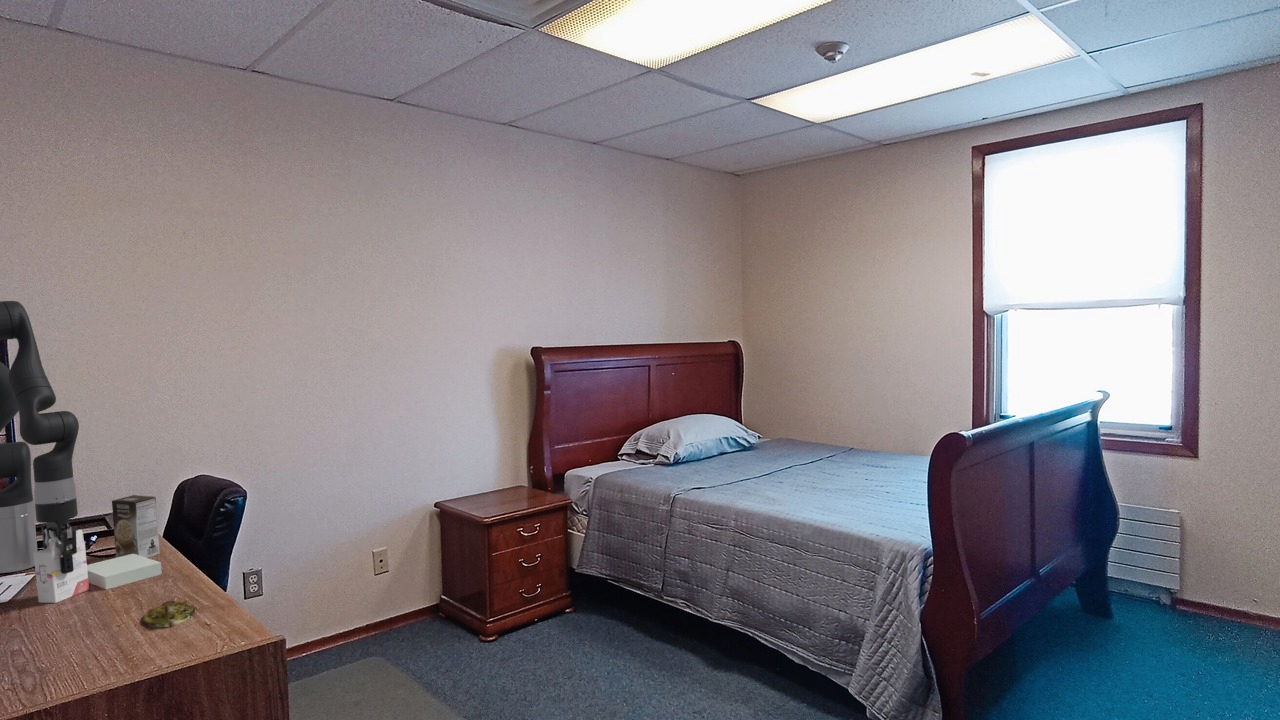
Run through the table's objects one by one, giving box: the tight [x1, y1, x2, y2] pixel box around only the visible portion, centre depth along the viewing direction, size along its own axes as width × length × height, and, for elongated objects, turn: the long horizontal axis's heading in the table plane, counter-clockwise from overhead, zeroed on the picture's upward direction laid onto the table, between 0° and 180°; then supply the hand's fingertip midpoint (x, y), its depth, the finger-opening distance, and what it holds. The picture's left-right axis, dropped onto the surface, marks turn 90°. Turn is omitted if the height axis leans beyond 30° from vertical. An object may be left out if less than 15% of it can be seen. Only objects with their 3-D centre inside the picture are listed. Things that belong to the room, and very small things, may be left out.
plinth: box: [87, 554, 163, 590], centre depth 184 cm, size 16×12×3 cm
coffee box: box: [111, 494, 160, 559], centre depth 201 cm, size 9×6×16 cm
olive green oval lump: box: [142, 600, 196, 629], centre depth 156 cm, size 9×5×15 cm
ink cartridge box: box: [34, 529, 90, 604], centre depth 171 cm, size 9×5×15 cm, turn 168°
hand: (61, 570), depth 171 cm, fingers closed on ink cartridge box, 6 cm apart
